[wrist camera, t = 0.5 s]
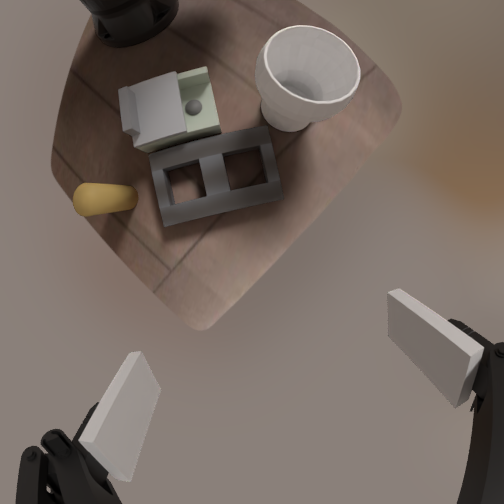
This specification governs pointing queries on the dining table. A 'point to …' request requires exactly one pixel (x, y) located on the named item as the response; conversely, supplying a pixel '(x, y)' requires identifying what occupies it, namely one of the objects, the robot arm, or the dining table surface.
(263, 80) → the cup
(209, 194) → the peg board
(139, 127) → the lid
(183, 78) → the pale green box tray
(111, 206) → the peg
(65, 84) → the dining table surface
